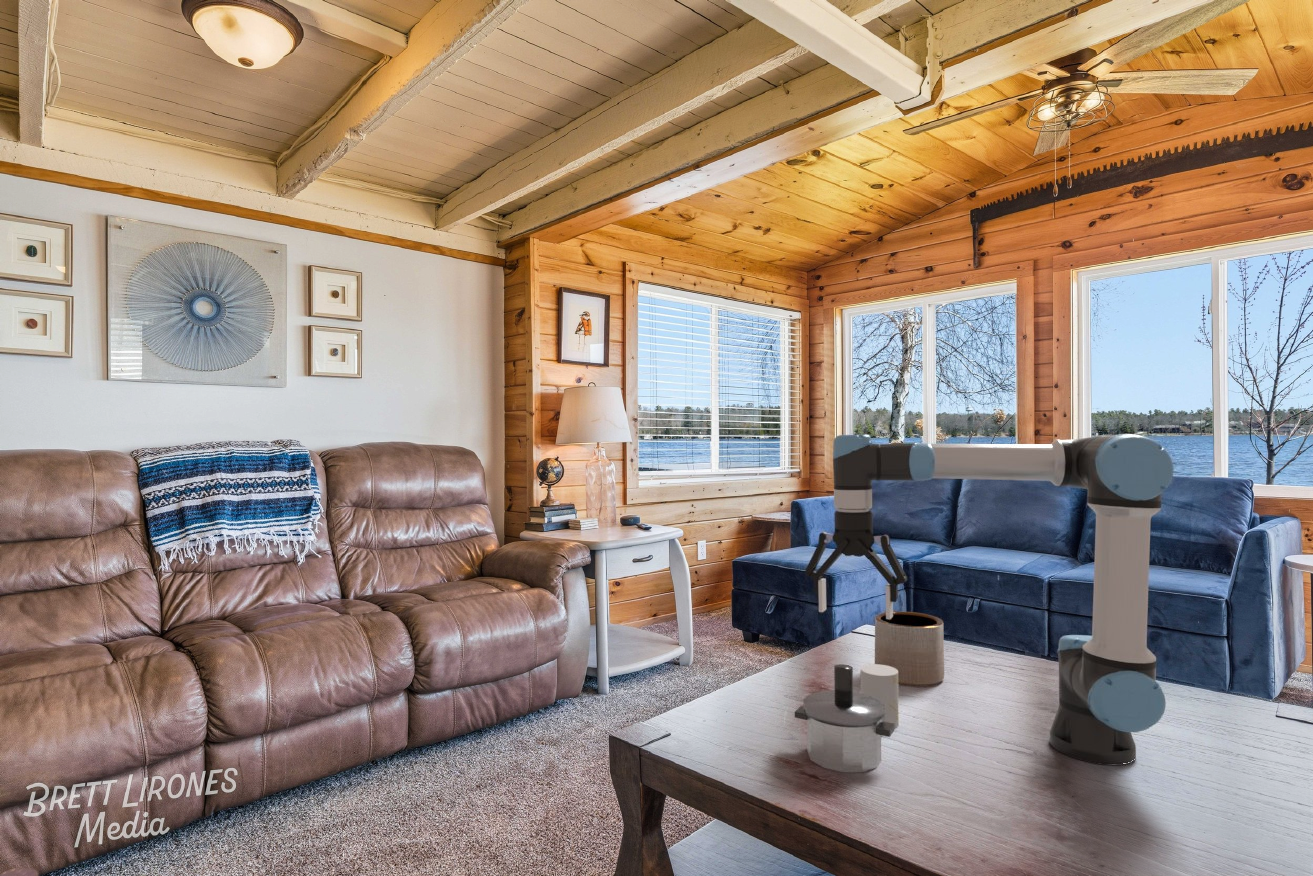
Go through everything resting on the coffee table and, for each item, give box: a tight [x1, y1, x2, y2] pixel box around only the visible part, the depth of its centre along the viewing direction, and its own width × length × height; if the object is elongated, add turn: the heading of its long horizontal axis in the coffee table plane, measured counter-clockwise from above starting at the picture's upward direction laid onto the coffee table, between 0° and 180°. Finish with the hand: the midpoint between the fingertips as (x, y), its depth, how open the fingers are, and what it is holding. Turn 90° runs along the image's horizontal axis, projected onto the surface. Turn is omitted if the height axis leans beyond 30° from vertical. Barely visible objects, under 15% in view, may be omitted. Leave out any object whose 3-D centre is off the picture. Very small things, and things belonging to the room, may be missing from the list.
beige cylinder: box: [860, 663, 900, 729], centre depth 161 cm, size 8×8×12 cm
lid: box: [802, 663, 885, 728], centre depth 144 cm, size 16×16×9 cm
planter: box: [874, 611, 945, 687], centre depth 192 cm, size 18×18×16 cm
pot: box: [794, 705, 895, 773], centre depth 144 cm, size 19×14×9 cm
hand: (855, 614), depth 145 cm, fingers open, 13 cm apart
